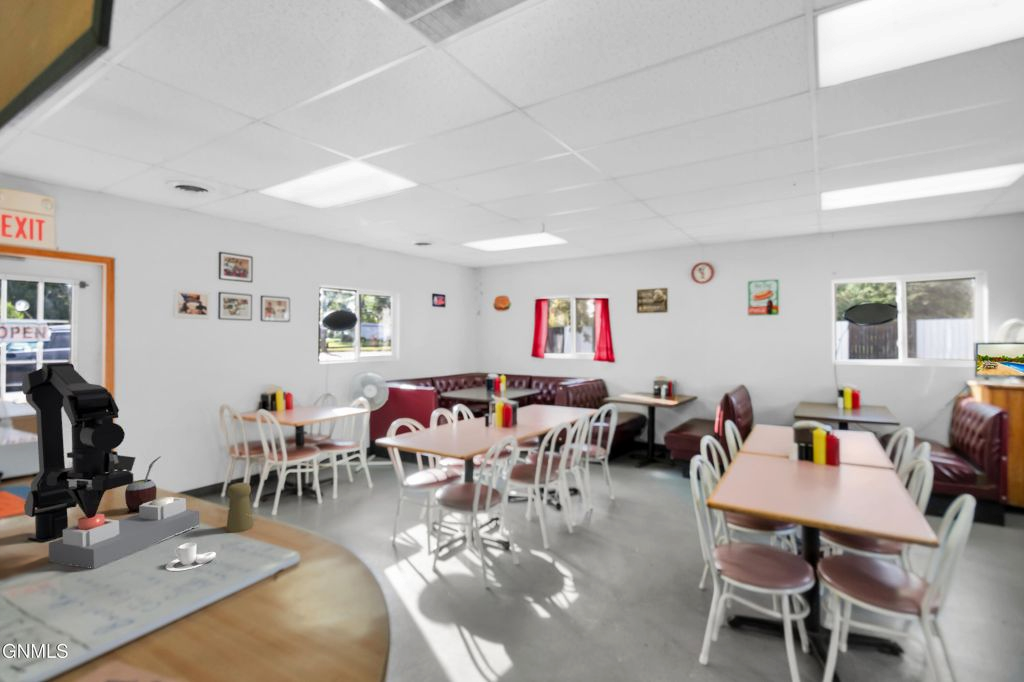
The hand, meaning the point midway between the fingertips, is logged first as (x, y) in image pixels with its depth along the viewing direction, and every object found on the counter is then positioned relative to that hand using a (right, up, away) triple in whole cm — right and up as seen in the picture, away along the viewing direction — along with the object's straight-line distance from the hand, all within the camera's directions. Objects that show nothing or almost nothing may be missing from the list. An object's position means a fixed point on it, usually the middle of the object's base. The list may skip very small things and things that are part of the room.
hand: (91, 517), depth 109 cm
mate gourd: (-12, -9, +31) cm, 35 cm away
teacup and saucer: (+26, -9, -7) cm, 28 cm away
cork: (+24, -8, +15) cm, 30 cm away
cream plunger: (+5, -4, +15) cm, 17 cm away
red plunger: (0, -3, 0) cm, 3 cm away
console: (+3, -9, +8) cm, 12 cm away
